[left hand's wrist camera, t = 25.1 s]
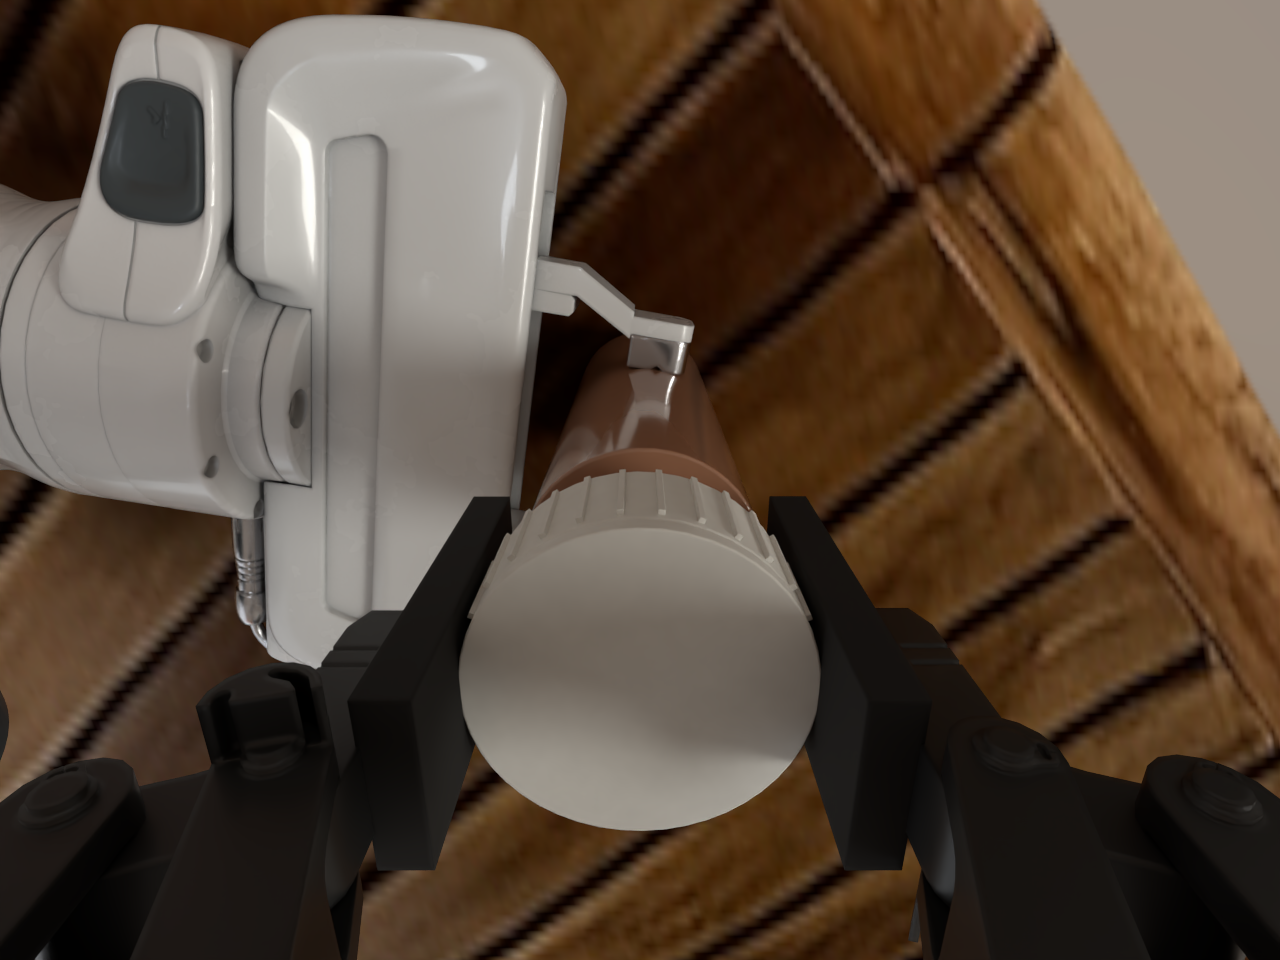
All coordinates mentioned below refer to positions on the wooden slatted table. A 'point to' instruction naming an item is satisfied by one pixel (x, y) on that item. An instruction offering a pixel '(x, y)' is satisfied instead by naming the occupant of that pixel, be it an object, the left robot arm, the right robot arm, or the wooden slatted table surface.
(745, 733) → the lid
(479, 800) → the wooden slatted table surface
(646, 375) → the brown bottle
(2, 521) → the wooden slatted table surface
